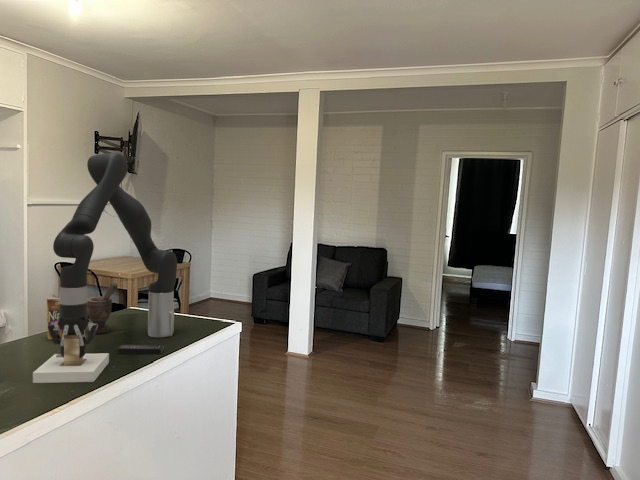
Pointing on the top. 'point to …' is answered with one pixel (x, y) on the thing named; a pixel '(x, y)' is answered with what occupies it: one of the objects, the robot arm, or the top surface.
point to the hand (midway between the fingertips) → (73, 356)
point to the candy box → (53, 314)
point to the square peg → (72, 351)
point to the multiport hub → (140, 349)
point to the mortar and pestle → (101, 309)
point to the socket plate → (71, 369)
